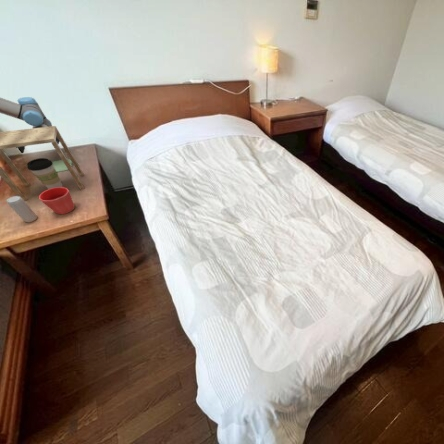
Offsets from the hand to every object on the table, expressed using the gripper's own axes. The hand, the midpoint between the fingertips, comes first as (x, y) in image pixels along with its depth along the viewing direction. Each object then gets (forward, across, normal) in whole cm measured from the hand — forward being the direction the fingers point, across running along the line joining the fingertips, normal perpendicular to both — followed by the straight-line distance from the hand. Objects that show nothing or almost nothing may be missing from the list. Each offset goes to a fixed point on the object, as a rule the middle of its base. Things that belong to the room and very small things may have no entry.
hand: (37, 148), depth 129 cm
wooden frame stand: (+12, 0, -17) cm, 21 cm away
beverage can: (+37, +8, -17) cm, 42 cm away
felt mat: (-11, 0, -17) cm, 20 cm away
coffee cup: (+12, 0, -17) cm, 21 cm away
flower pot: (+35, -5, -17) cm, 40 cm away
